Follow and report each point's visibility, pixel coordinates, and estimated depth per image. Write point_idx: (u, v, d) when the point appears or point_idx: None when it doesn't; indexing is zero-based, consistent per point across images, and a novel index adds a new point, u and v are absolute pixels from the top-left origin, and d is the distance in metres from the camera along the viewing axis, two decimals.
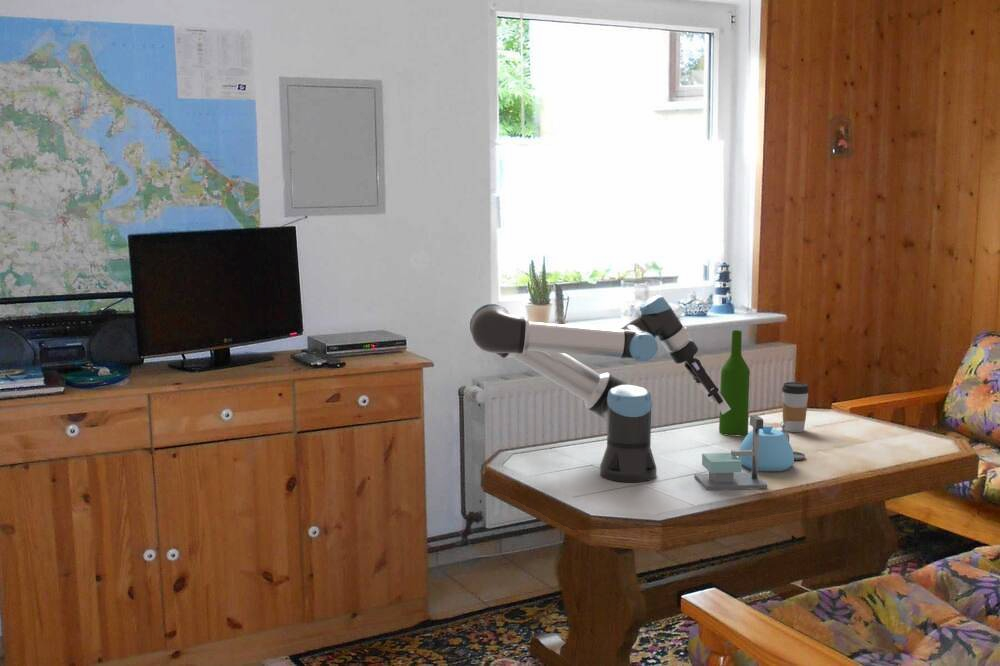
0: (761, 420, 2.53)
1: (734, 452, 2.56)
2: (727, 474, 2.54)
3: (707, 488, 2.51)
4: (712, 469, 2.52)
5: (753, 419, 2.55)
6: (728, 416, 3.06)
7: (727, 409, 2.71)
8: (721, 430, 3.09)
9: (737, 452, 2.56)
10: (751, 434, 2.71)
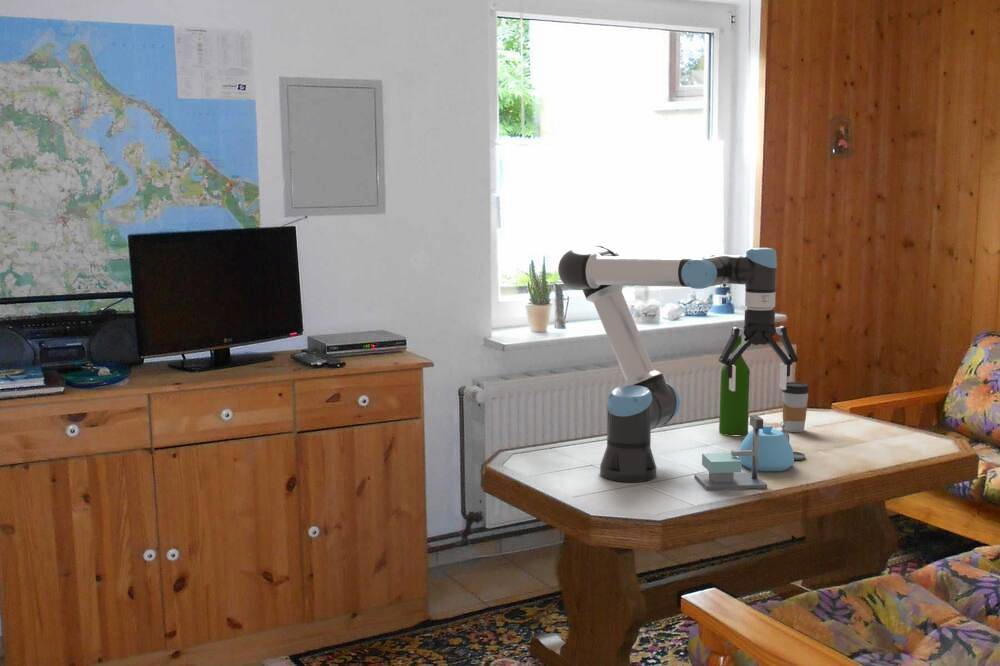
0: (761, 420, 2.53)
1: (734, 452, 2.56)
2: (727, 474, 2.54)
3: (707, 488, 2.51)
4: (712, 469, 2.52)
5: (753, 419, 2.55)
6: (728, 416, 3.06)
7: (731, 388, 2.53)
8: (721, 430, 3.09)
9: (737, 452, 2.56)
10: (751, 434, 2.71)
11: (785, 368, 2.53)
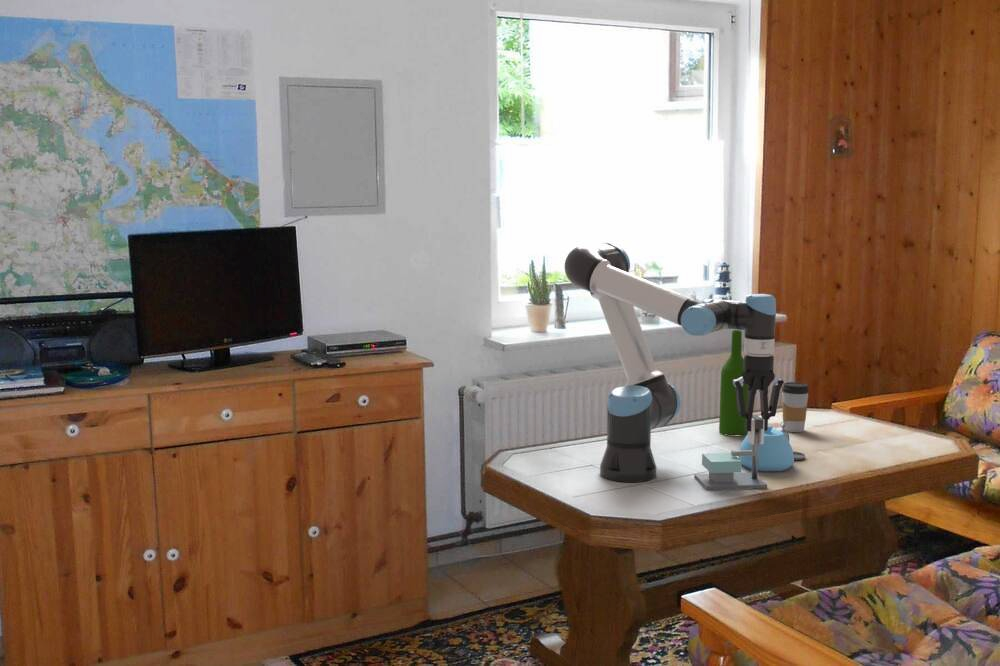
0: (761, 420, 2.53)
1: (734, 452, 2.56)
2: (727, 474, 2.54)
3: (707, 488, 2.51)
4: (712, 469, 2.52)
5: None
6: (728, 416, 3.06)
7: (750, 441, 2.56)
8: (721, 430, 3.09)
9: (737, 452, 2.56)
10: None
11: (763, 423, 2.54)
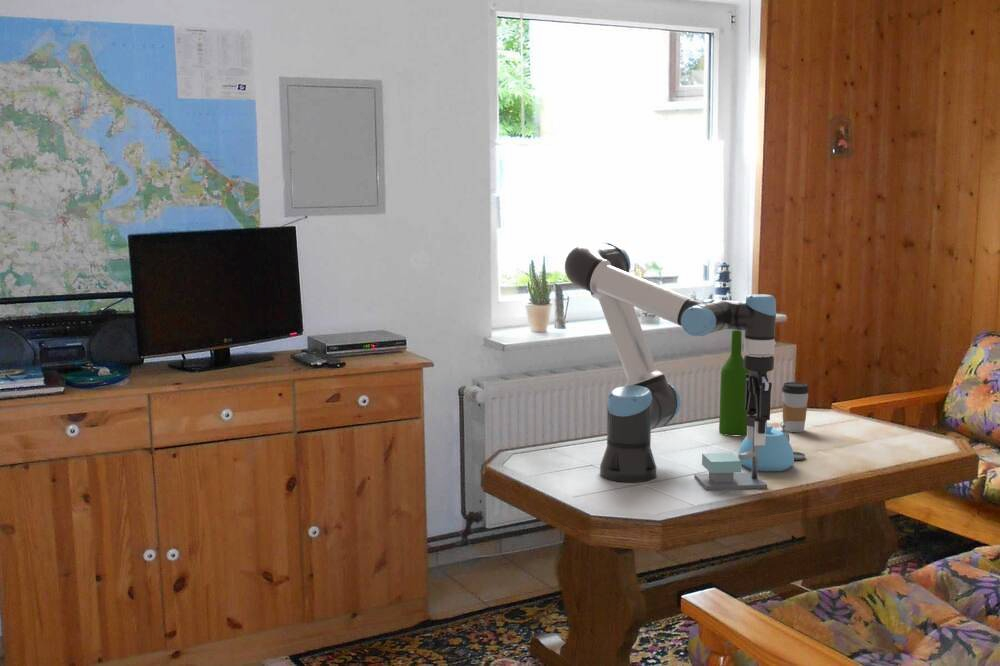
0: None
1: (744, 455, 2.53)
2: (727, 474, 2.54)
3: (707, 488, 2.51)
4: (712, 469, 2.52)
5: None
6: (728, 416, 3.06)
7: (762, 443, 2.53)
8: (721, 430, 3.09)
9: (746, 455, 2.53)
10: None
11: None
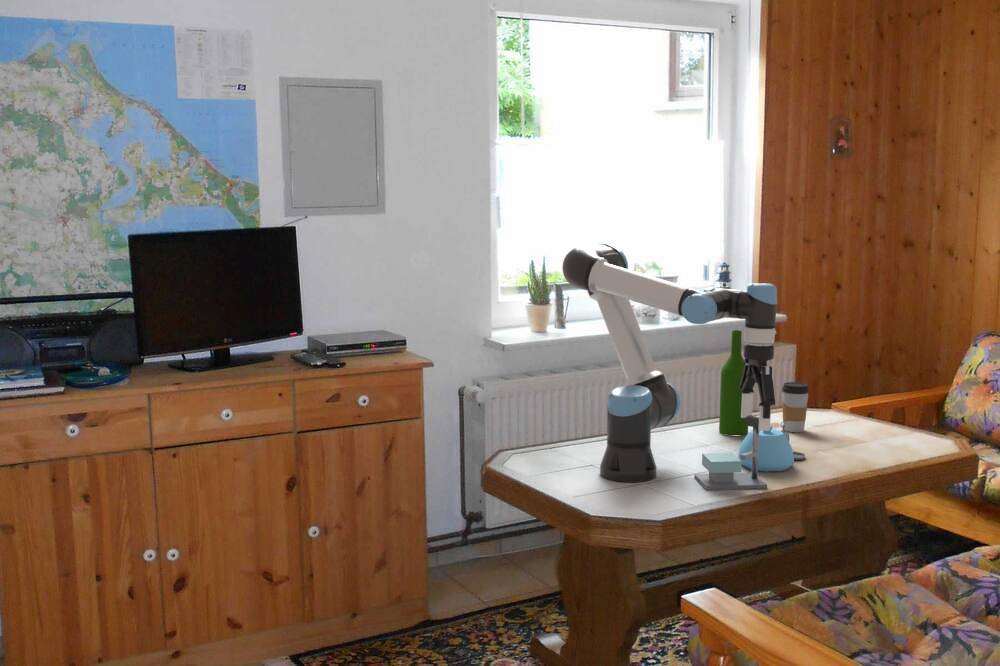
0: None
1: (745, 456, 2.52)
2: (727, 474, 2.54)
3: (707, 488, 2.51)
4: (712, 469, 2.52)
5: (755, 419, 2.55)
6: (728, 416, 3.06)
7: (766, 428, 2.49)
8: (721, 430, 3.09)
9: (747, 455, 2.53)
10: (751, 434, 2.71)
11: None
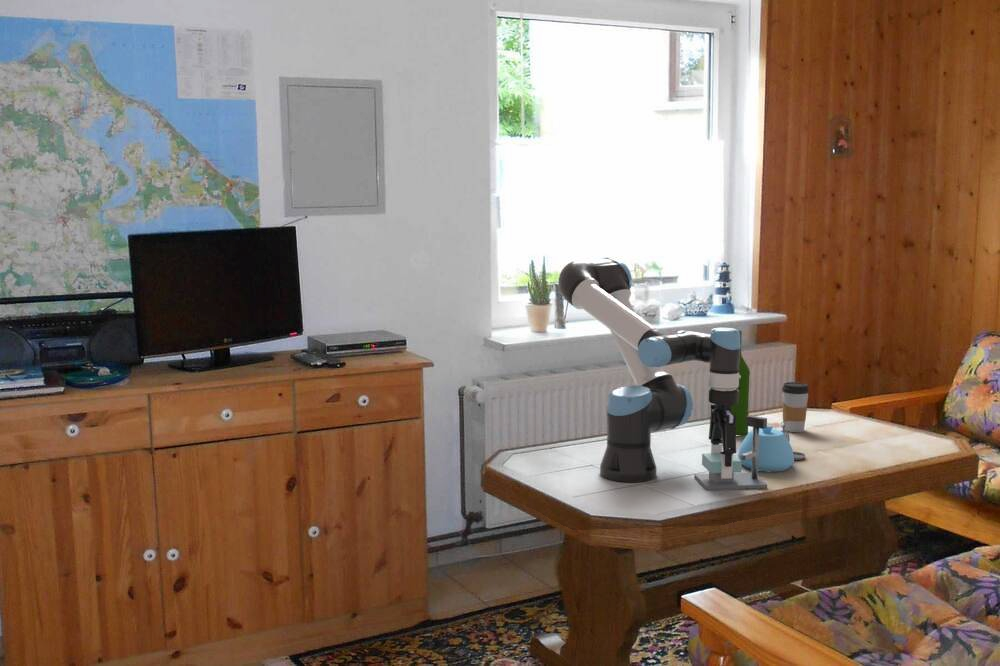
0: (766, 419, 2.54)
1: (746, 456, 2.52)
2: None
3: (707, 488, 2.51)
4: (712, 469, 2.52)
5: (755, 419, 2.55)
6: None
7: (728, 476, 2.52)
8: None
9: (747, 455, 2.53)
10: (751, 434, 2.71)
11: None
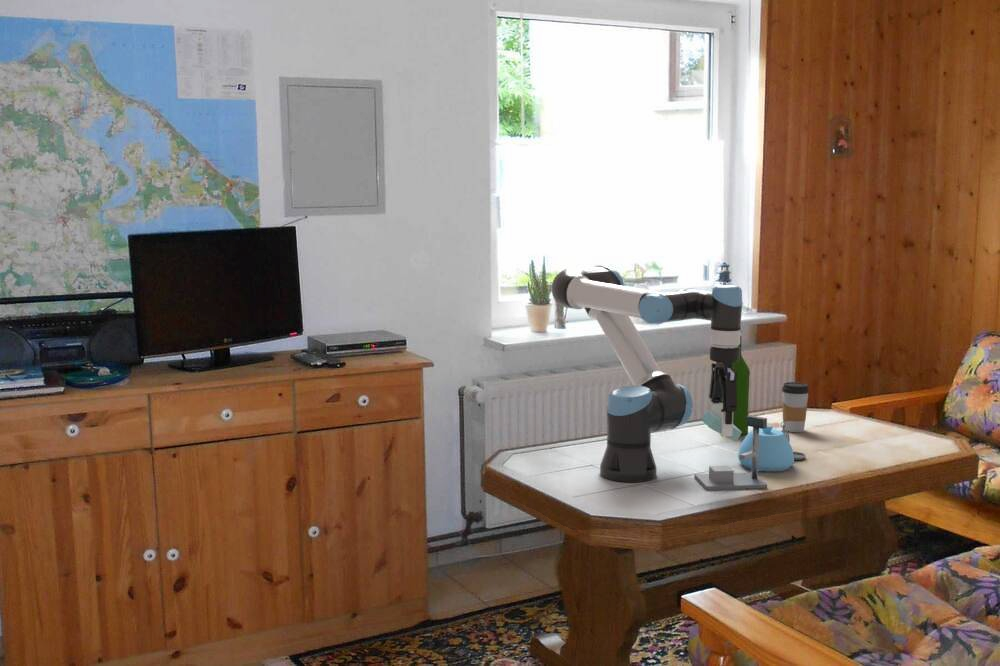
0: (765, 419, 2.54)
1: (745, 455, 2.52)
2: (727, 474, 2.54)
3: (707, 488, 2.51)
4: (712, 425, 2.51)
5: (755, 419, 2.55)
6: None
7: (729, 434, 2.51)
8: None
9: (747, 455, 2.53)
10: (751, 434, 2.71)
11: None
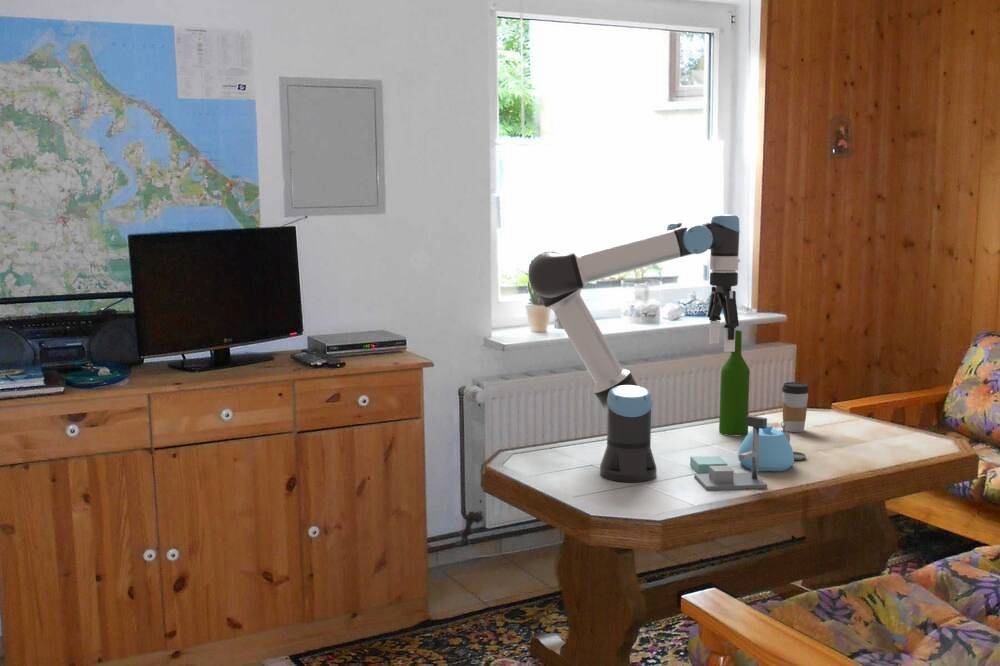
0: (765, 419, 2.54)
1: (744, 455, 2.52)
2: (727, 474, 2.54)
3: (707, 488, 2.51)
4: (699, 471, 2.66)
5: (755, 419, 2.55)
6: (728, 416, 3.06)
7: (731, 349, 2.65)
8: (721, 430, 3.09)
9: (746, 455, 2.53)
10: (751, 434, 2.71)
11: None
